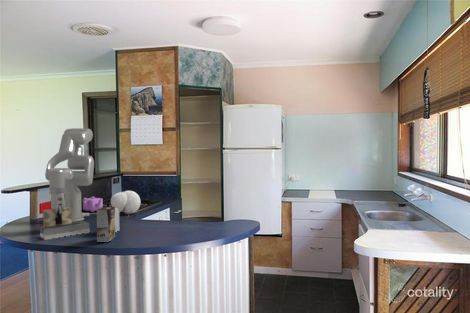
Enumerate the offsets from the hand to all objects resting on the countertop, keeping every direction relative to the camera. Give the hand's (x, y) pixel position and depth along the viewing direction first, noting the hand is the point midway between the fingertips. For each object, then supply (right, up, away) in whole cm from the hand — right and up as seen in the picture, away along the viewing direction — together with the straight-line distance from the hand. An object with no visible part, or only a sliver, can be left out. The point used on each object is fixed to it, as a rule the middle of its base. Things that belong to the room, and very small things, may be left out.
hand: (57, 223), depth 188 cm
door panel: (0, -4, 0) cm, 4 cm away
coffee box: (+36, -4, -22) cm, 43 cm away
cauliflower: (+24, -3, +46) cm, 52 cm away
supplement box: (+32, -4, -6) cm, 32 cm away
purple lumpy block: (-5, -3, +58) cm, 59 cm away
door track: (+10, -4, -10) cm, 14 cm away
